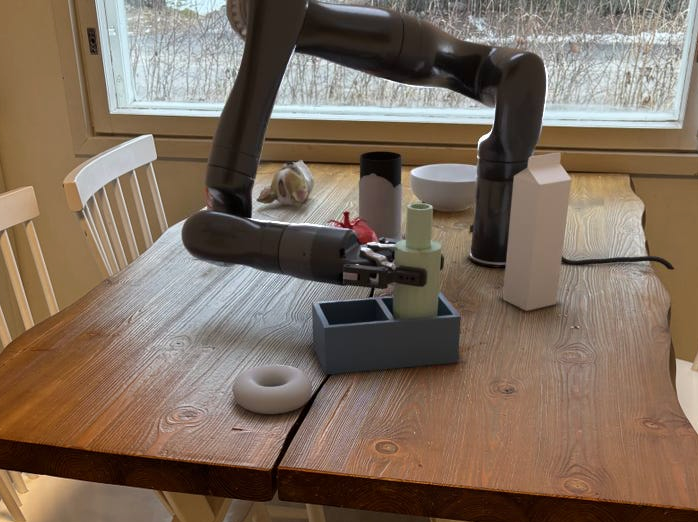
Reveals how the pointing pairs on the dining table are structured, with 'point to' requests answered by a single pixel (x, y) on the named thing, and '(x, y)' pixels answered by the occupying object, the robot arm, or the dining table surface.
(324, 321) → the blue divided storage box
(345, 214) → the pomegranate
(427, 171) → the cereal bowl
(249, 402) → the donut
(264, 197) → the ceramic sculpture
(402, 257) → the bottle
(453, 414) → the dining table surface
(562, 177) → the milk
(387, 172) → the glass holder
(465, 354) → the dining table surface
